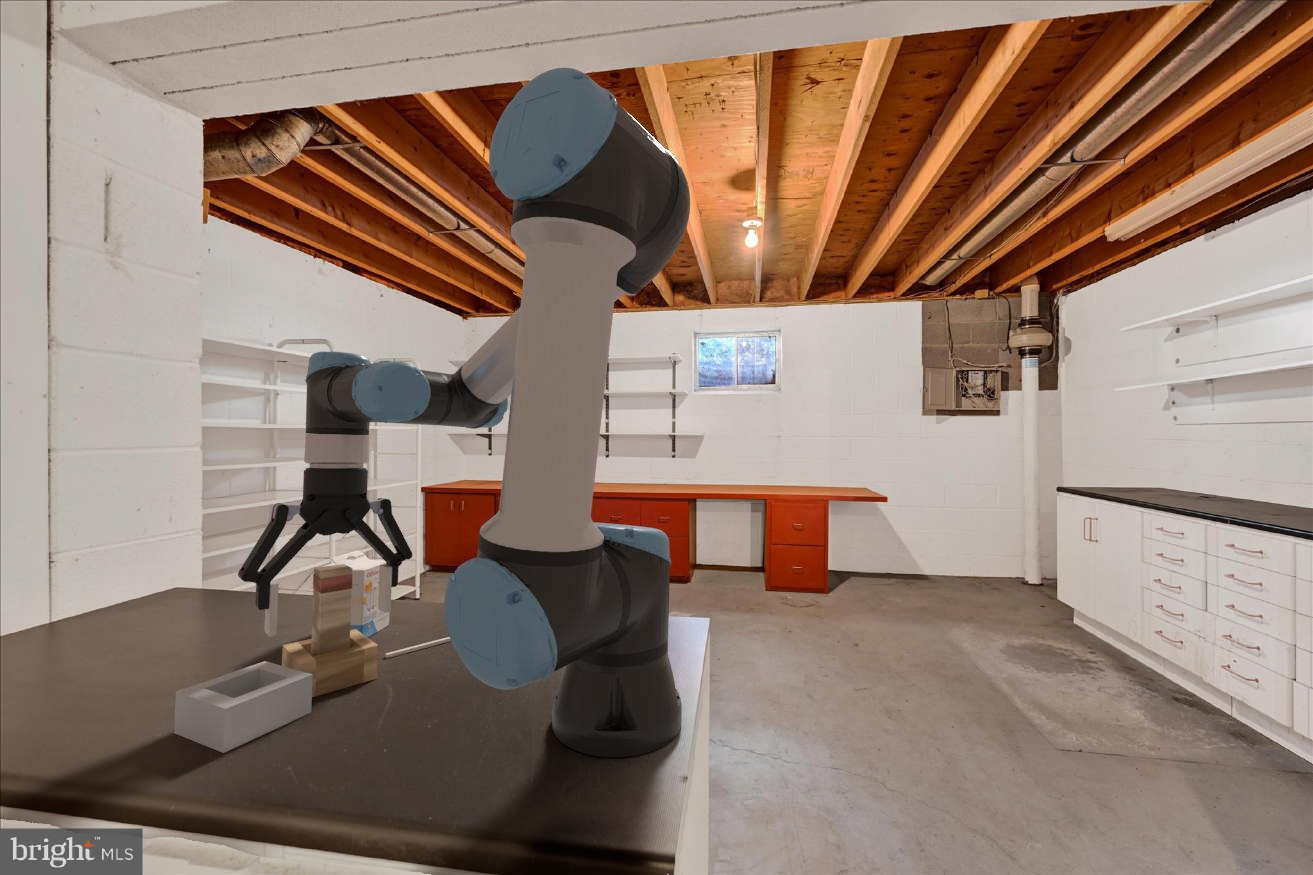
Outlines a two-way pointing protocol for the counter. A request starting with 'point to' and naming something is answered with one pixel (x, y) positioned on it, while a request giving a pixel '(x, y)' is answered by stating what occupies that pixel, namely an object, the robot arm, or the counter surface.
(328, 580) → the red-banded tall box
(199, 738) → the grey square frame
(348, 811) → the counter surface
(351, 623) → the ink box
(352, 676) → the wooden square frame
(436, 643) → the thin white stick
